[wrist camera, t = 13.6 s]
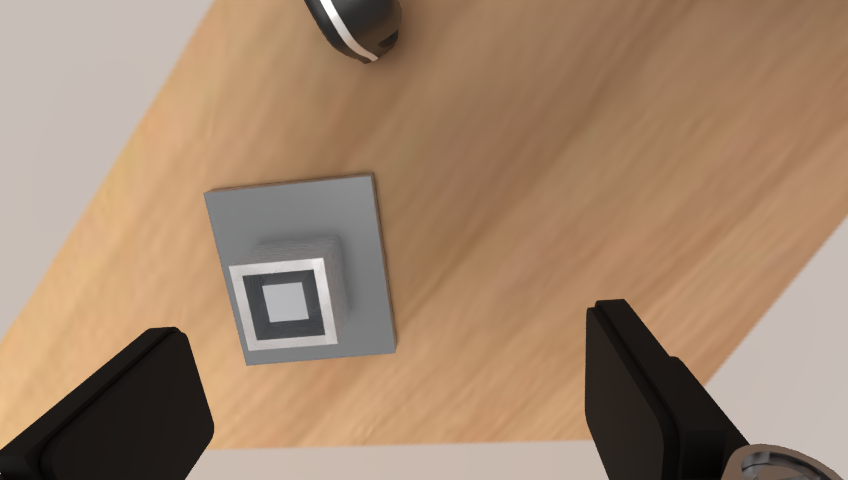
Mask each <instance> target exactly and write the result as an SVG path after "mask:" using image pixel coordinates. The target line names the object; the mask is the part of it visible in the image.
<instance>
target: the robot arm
mask: <svg viewBox="0 0 848 480" xmlns="http://www.w3.org/2000/svg"><path fill="white" fill-rule="evenodd" d="M585 415H586V420H587V424H588V427H589V430H590V432H591V435H592V437H593V440H594V442H595V444H596V447H597V450H598V453H599V455H600V458H601V460H602V463H603V465H604V468H605V470H606V473H607V475H608V478H609V480H843V479H842V478H841V477H840V476H839V475H838V474H837V473H836V472H834V471H833V470H832V469H830V468H829V467H827V466H825V465H824V464H822V463H821V462H819V461H817V460H816V459H813V458H811V457H809V456H806V455H805V454H802V453H800V452H798V451H795V450H792V449H788V448H785V447H780V446H776V445H767V444H754V445H750V444H749V443H748V441H747V440H746V439H745V438H744V437H743V435H742V434H741V433H740V432H739V430H738V429H737V428H736V427H735V426H734V424H733V423H732V422H731V421H730V420H729V418H728V417H727V416H726V415H725V413H724V412H723V411H722V410H721V409H720V407H719V406H718V405H717V404H716V402H715V401H714V400H713V399H712V397H711V396H710V395H709V394H708V393H707V391H706V390H705V389H704V388H703V386H702V385H701V384H700V383H699V382H698V380H697V379H696V378H695V377H694V375H693V374H692V373H691V372H690V371H689V369H688V368H687V367H686V366H685V364H684V363H683V362H682V361H681V360H680V359H679V358H678V357H674V356H669V355H668V354H667V352H666V351H665V350H664V349H663V347H662V346H661V345H660V343H659V342H658V341H657V340H656V338H655V337H654V336H653V335H652V333H651V332H650V331H649V329H648V328H647V327H646V326H645V324H644V323H643V322H642V321H641V319H640V318H639V317H638V316H637V314H636V313H635V312H634V310H633V309H632V308H631V307H630V305H629V304H628V303H627V302H626V300H624V299H616V300H599V301H596V303H595V307H591V308H588V309H587V314H586V368H585ZM213 434H214V422H213V419H212V416H211V412H210V409H209V406H208V403H207V399H206V396H205V393H204V389H203V386H202V383H201V380H200V376H199V373H198V370H197V366H196V363H195V360H194V357H193V353H192V350H191V347H190V344H189V340H188V338H187V335H186V334H185V333H183V332H181V331H180V330H179V329H178V328H176V327H163V328H150V329H148V330H146V331H145V332H144V333H142V334H141V335H140V336H139V337H138V338H136V339H135V340H134V341H133V342H131V343H130V344H129V345H128V346H127V347H125V348H124V349H123V350H122V351H121V352H119V353H118V354H117V355H116V356H114V357H113V358H112V359H111V360H110V361H108V362H107V363H106V364H105V365H103V366H102V367H101V368H100V369H99V370H97V371H96V372H95V373H94V374H92V375H91V376H90V377H89V378H88V379H86V380H85V381H84V382H83V383H82V384H80V385H79V386H78V387H77V388H75V389H74V390H73V391H72V392H71V393H69V394H68V395H67V396H66V397H64V398H63V399H62V400H61V401H60V402H58V403H57V404H56V405H55V406H53V407H52V408H51V409H50V410H49V411H47V412H46V413H45V414H44V415H42V416H41V417H40V418H39V419H38V420H36V421H35V422H34V423H33V424H32V425H30V426H29V427H28V428H27V429H25V430H24V431H23V432H22V433H21V434H19V435H18V436H17V437H16V438H14V439H13V440H12V441H11V442H10V443H8V444H7V445H6V446H5V447H3V448H2V449H1V450H0V473H1V474H0V480H185V479H186V477H187V476H188V474H189V473H190V471H191V470H192V468H193V467H194V465H195V464H196V462H197V461H198V459H199V458H200V456H201V455H202V453H203V452H204V450H205V449H206V447H207V446H208V444H209V443H210V441H211V439H212V437H213Z"/></svg>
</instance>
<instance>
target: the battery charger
mask: <svg viewBox="0 0 848 480" xmlns="http://www.w3.org/2000/svg"><path fill="white" fill-rule="evenodd" d="M304 1H305V3H306V5H307V7H308V9H309V10H310V12H311V14H312V16H313V18H314V19H315V21H316V23H317V25H318V26H319V28H320V30H321V31H322V33H323V34H324V36H325V37H326V39H327V40H328V42H329V43H330V44H331V45H332V46H333V47H334V48H335V49H337V50H338V51H340V52H341V53H343V54H345V55H346V56H349V57H351V58H354V59H358V60H360V61H361V62H363V63H369V62H371V61H375V60H377V59H378V57H379V56H381V55H383V54H385V53H386V52H387V51H388V50H389V49H390V48H392V47H393V45H394V44H395V42H396V41H397V38H398V30H397V29H398V28H399V26H400V23H401V6H400V4H399V1H398V0H304Z"/></svg>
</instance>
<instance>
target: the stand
mask: <svg viewBox="0 0 848 480" xmlns="http://www.w3.org/2000/svg"><path fill="white" fill-rule="evenodd" d="M203 194H204V198H205V202H206V206H207V210H208V214H209V218H210V222H211V226H212V230H213V234H214V238H215V242H216V246H217V250H218V254H219V258H220V262H221V266H222V270H223V274H224V278H225V282H226V286H227V290H228V294H229V298H230V302H231V306H232V310H233V314H234V318H235V322H236V326H237V330H238V334H239V338H240V342H241V346H242V350H243V354H244V358H245V362H246V366H248V365H260V364H272V363H283V362H295V361H307V360H319V359H330V358H342V357H354V356H366V355H377V354H389V353H396V347H397V340H396V332H395V325H394V318H393V311H392V304H391V297H390V289H389V282H388V275H387V268H386V261H385V254H384V246H383V239H382V232H381V225H380V218H379V211H378V203H377V196H376V189H375V182H374V175H373V173H365V174H355V175H346V176H336V177H327V178H317V179H308V180H298V181H289V182H279V183H270V184H260V185H251V186H241V187H232V188H222V189H213V190H210V191H208V192H205V193H203ZM337 235H339V239H340V246H341V252H342V258H343V264H344V271H345V277H346V283H347V289H348V296H349V302H350V308H351V311H350V314H349V316H348V319H347V322H346V324H345V327H344V329H343V332H342V334H341V337H340V339H339V342H338V344H328V345H316V346H303V347H290V348H278V349H265V350H253V351H249V350H248V346H247V341H246V337H245V333H244V329H243V325H242V320H241V316H240V312H239V308H238V303H237V299H236V295H235V291H234V286H233V282H232V278H231V274H230V270H229V266H230V265H231V264H232V263H233V262H235V261H236V260H237V259H238V258H240V257H241V256H242V255H243V254H245V253H246V252H247V251H248V250H249V249H251V248H252V247H253V246H254V245H256V244H257V243H259V242H270V241H281V240H292V239H303V238H314V237H325V236H337ZM262 288H263V292H264V297H265V301H266V305H267V310H268V314H269V319H270V322H278V321H290V320H301V319H309V318H310V316H311V314H312V312H313V311H314V309H315V307H316V305H320V301H319V296H318V290H317V285H316V279H315V273H314V269H313V270H302V271H290V272H279V273H274V274H273V275H272V276H271V277H270V278H269V279H268V280H267V281H266V282H265V283H264V284H263V286H262Z"/></svg>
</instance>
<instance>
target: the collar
mask: <svg viewBox="0 0 848 480" xmlns="http://www.w3.org/2000/svg"><path fill="white" fill-rule="evenodd" d="M313 269H314V273H315V279H316V285H317V290H318V296H319V301H320V305H316V307H315V309H314V311H313V312H312V314H311V316H310V318H309V319H301V320H290V321H278V322H270V319H269V314H268V310H267V305H266V301H265V297H264V292H263V288H262V286H263V284H264V283H265V282H266V281H267V280H268V279H269V278H270V277H271V276H272V275H273V274H274V273H279V272H290V271H302V270H313ZM229 270H230V274H231V278H232V282H233V286H234V291H235V295H236V299H237V303H238V308H239V312H240V316H241V320H242V325H243V329H244V333H245V337H246V341H247V346H248V350H249V351H253V350H265V349H278V348H290V347H303V346H316V345H328V344H338V342H339V339H340V337H341V334H342V332H343V329H344V327H345V324H346V322H347V319H348V316H349V314H350V311H351V308H350V302H349V296H348V289H347V283H346V277H345V271H344V264H343V258H342V252H341V246H340V239H339V235H337V236H325V237H314V238H303V239H292V240H281V241H270V242H259V243H257V244H256V245H254V246H253V247H252V248H251V249H249V250H248V251H247V252H246V253H245V254H243V255H242V256H241V257H240V258H238V259H237V260H236V261H235V262H233V263H232V264H231V265H230V266H229Z"/></svg>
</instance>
